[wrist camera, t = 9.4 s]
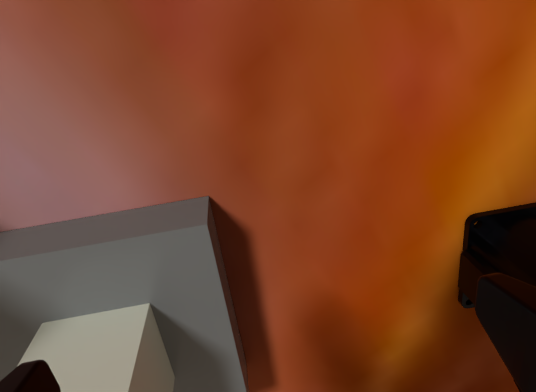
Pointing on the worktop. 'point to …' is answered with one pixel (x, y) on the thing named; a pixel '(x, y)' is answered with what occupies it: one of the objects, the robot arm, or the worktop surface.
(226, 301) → the plinth
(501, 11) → the worktop surface
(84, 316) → the cube
